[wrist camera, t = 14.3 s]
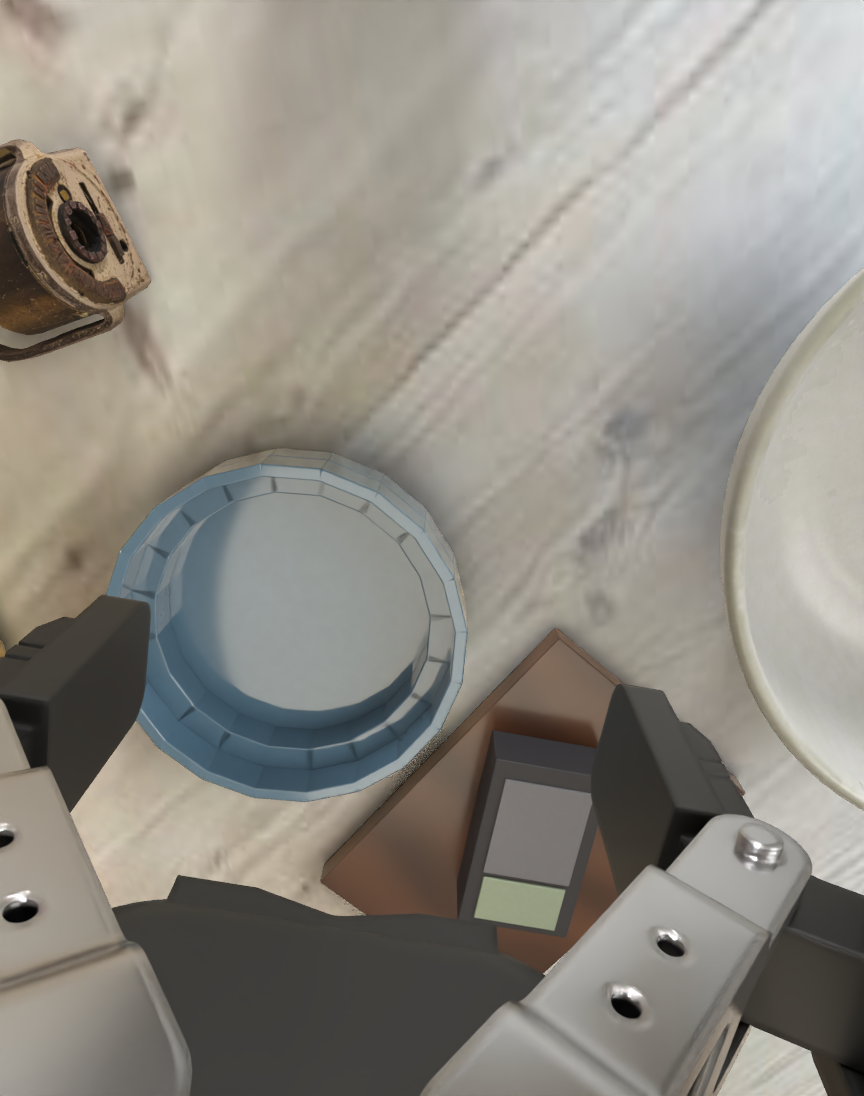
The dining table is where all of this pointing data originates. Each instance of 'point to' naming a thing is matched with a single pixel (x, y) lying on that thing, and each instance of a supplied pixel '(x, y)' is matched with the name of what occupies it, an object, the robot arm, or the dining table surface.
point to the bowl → (295, 625)
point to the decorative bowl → (805, 546)
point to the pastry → (2, 649)
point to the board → (450, 795)
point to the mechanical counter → (60, 249)
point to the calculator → (528, 835)
